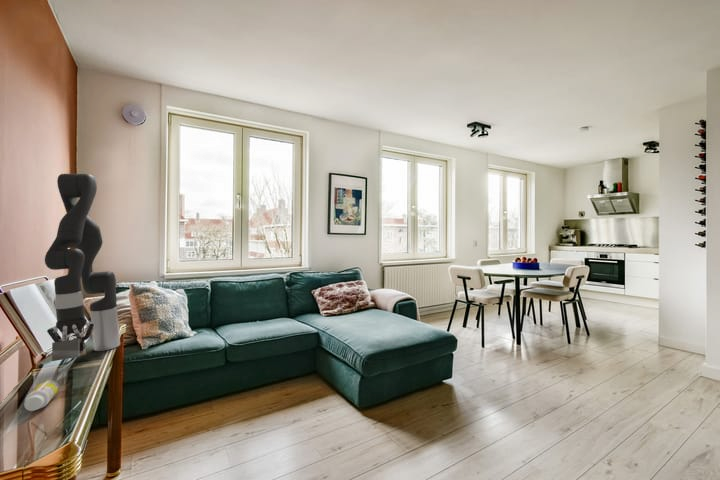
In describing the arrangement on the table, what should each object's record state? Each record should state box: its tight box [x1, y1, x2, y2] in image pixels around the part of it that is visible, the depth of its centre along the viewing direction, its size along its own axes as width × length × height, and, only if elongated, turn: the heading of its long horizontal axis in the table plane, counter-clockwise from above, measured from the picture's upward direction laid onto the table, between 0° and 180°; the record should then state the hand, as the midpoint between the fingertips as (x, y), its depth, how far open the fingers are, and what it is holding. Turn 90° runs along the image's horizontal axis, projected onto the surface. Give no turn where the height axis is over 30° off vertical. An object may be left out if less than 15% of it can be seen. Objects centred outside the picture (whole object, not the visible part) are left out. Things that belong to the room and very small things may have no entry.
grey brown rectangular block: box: [51, 338, 87, 362], centre depth 120 cm, size 13×7×6 cm, turn 22°
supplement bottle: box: [23, 379, 60, 412], centre depth 100 cm, size 6×6×10 cm
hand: (74, 352), depth 120 cm, fingers closed on grey brown rectangular block, 3 cm apart
